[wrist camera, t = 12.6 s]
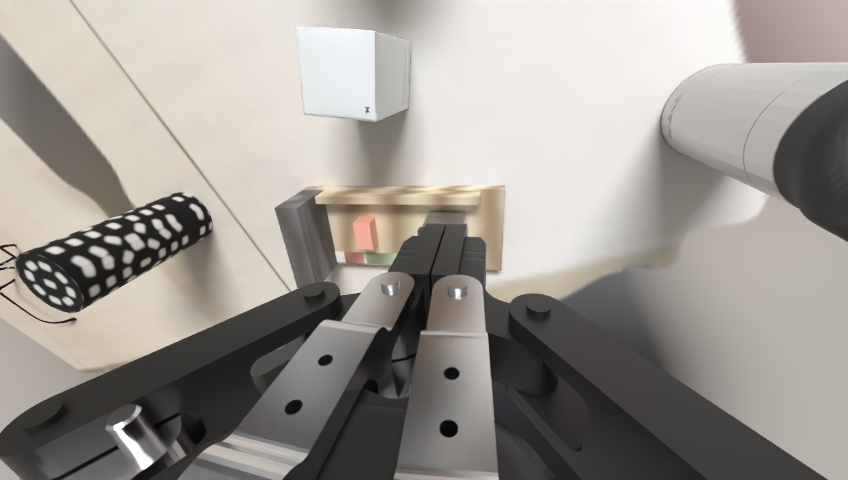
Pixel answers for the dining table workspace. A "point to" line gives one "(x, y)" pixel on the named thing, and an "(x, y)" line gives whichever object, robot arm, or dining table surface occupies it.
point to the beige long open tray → (379, 223)
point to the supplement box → (353, 73)
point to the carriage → (443, 219)
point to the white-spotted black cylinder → (112, 252)
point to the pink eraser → (365, 232)
